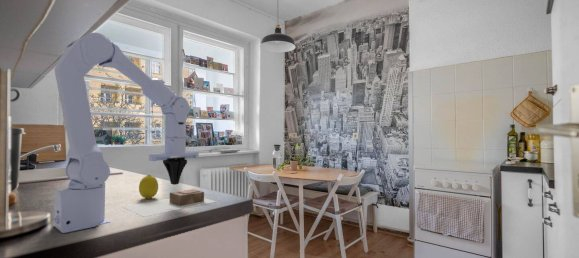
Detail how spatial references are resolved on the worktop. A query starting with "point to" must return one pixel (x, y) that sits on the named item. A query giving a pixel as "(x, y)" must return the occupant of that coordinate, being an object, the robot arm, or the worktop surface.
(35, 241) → the worktop surface
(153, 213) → the mat
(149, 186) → the lemon
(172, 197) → the brown wooden block
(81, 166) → the robot arm
